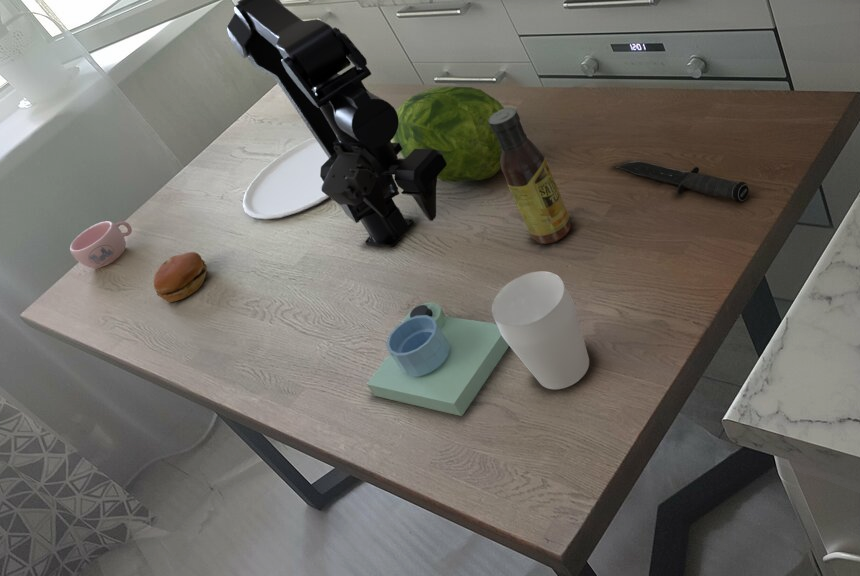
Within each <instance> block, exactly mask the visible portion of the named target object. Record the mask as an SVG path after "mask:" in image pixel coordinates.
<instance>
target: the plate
mask: <svg viewBox="0 0 860 576" xmlns="http://www.w3.org/2000/svg"><path fill="white" fill-rule="evenodd" d="M328 159H329V158H328V156H327V155H326V153H325V152H324V150H323V149H322V147H321V146H320V144H319V143H318V142H317V140H316V139H315V137H314V136H312V137H310V138H309V139H306V140H304V141H301V142H300V143H298V144H296V145H295V146H293V147H292V148H290V149H287V150H286V151H284V152H283V153H282V154H280V155H279V156H278V157H276V158H275V159H274V160H272V161H271V162H270V163H268V165H267V166H265V167H264V168H263V169H262V170H261V171H260V172H259V173H258V174H257V176H256V177H255V178H254V179H253V180H252V181H251V182H250V184H249V185H248V187H247V189H246V190H245V193H244V195H243V200H242V207H243V210H244V212H245V214H247V215H248V216H250V217H251V218H254V219H259V220H273V219H280V218H285V217H288V216H291V215H294V214H299V213H300V212H303V211H306V210H307V209H310V208H312V207H315V206H317V205H319V204H320V203H322V202H323V201H325V200H327V199H328V198H330V197H329V196H327V195H326V194H325V193H323V192H322V190H321V187H322V185H323V183H324V181H323V180H322V178H321V177H320V172H321V166H322V165H323V164H324V163H325V162H326V161H327V160H328Z"/></svg>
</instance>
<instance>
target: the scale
mask: <svg viewBox="0 0 860 576" xmlns="http://www.w3.org/2000/svg"><path fill="white" fill-rule="evenodd" d="M419 305H425V306H427V307H428V309H429V311H430V312H431V314H432V316H431V317H432V318H434V319H435V321H436V322H437V324H438V325H439V327H440V329H441V330H442V332H443V334H444V335H445V337H446V339H447V340H448V343H449V345H450V350H449V354H448V356H447V358H446V359H445V361H444V362H443V363H442V364H441V365H440V366H439V367H438V368H436V369H435V370H433V371H432V372H430V373H427V374H425V375H422V376H409V375H407V374H405V373H403V372H402V370H401V369H400V367H399V366H398V365H397V363H396V362H395V360H394V359H393V357H392V356H391V354H390V353H389V354H388V355H387V357H386V358H385V359H384V361H382V363H381V365H379V367H378V369H376V371H375V372H374V373H373V375H372V376H371V377H370V379H369V380H368V381H367V383H366V386H367V387H368V389H369V390H370V392H371V393H372V395H374V397H378V398H382V399H387V400H391V401H395V402H399V403H404V404H409V405H413V406H417V407H421V408H424V409H429V410H433V411H437V412H442V413H446V414H451V415H455V416H459V417H463V416H464V414H465V413H466V411H467V410H468V408H469V407H470V406H471V404H472V403H473V401H474V399H475V398H476V397H477V395H478V393H479V392H480V390H481V389H482V387H483V386H484V384H485V383H486V381H487V380H488V378H489V377H490V376H491V374H492V372H493V371H494V370H495V369H496V367H497V366H498V363H499V362H500V361H501V359H502V358H503V356H504V354H505V353H506V352H507V350H508V349H509V347H510V346H509V345H508V343H507V342H506V341H505V340H504V338H503V337H502V335H501V333H500V331H499V328H498V326H497V324H496V322H495V323H494V322H487V321H480V320H473V319H466V318H459V317H454V316H447V315H446V313H445V312H444V310H443V308H442V307H441V305H440V304H439V303H437V302H431V301H428V302H425V303H421V304H418V305H417V306H419ZM413 309H414V308H412V309H411V310H409V312H408V313H407V314H406V316H404V318H403V321H405V320H407V319H409V318H410V313H411V311H412V310H413Z"/></svg>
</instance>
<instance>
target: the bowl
mask: <svg viewBox="0 0 860 576" xmlns="http://www.w3.org/2000/svg"><path fill="white" fill-rule="evenodd" d="M385 346H386V348H387V351H388V353H389V354H391V356H392V357H393V359H394V360H395V362H396V363H397V365H398V366H399V367H400V369H401V370H402V372H403V373H405V374H407V375H409V376H422V375H425V374H427V373H430V372H432V371H433V370H435V369H436V368H438V367H439V366H440V365H441V364H442V363H443V362H444V361H445V359H446V358H447V356H448V354H449V350H450V345H449V343H448V340H447V339H446V337H445V335H444V334H443V332H442V330H441V329H440V327H439V325H438V324H437V322H436V321H435V319H434V318H432V317H430V316H428V315H419V316H414V317H412V318H409V319H407V320H405V321H404V320H402V322H401V323H399V324H398V325H397V326H395V327H394V328H393V330H392V331H391V332H390V333H389V335H388V337H387V340H386V345H385Z"/></svg>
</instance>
